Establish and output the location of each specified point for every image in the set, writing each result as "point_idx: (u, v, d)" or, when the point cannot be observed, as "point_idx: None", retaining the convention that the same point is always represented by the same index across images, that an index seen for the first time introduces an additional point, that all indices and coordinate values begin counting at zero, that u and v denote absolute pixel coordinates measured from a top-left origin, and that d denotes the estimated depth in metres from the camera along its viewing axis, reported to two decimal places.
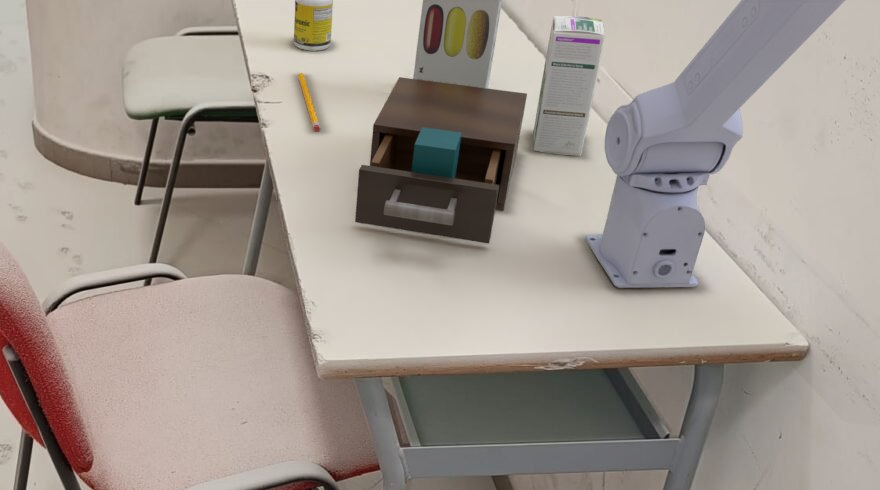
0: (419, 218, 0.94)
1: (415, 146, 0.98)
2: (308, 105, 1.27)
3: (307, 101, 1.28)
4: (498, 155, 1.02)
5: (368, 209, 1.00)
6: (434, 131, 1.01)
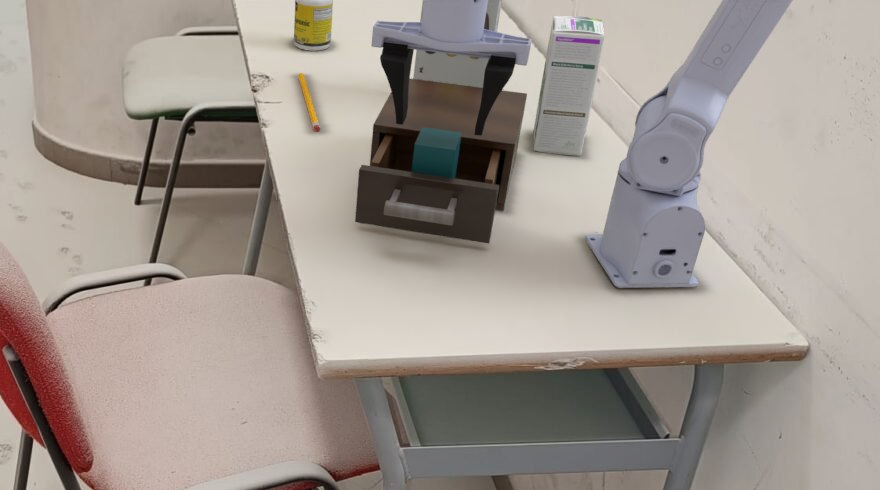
0: (419, 218, 0.94)
1: (415, 146, 0.98)
2: (308, 105, 1.27)
3: (306, 101, 1.28)
4: (498, 155, 1.02)
5: (368, 209, 1.00)
6: (434, 131, 1.01)
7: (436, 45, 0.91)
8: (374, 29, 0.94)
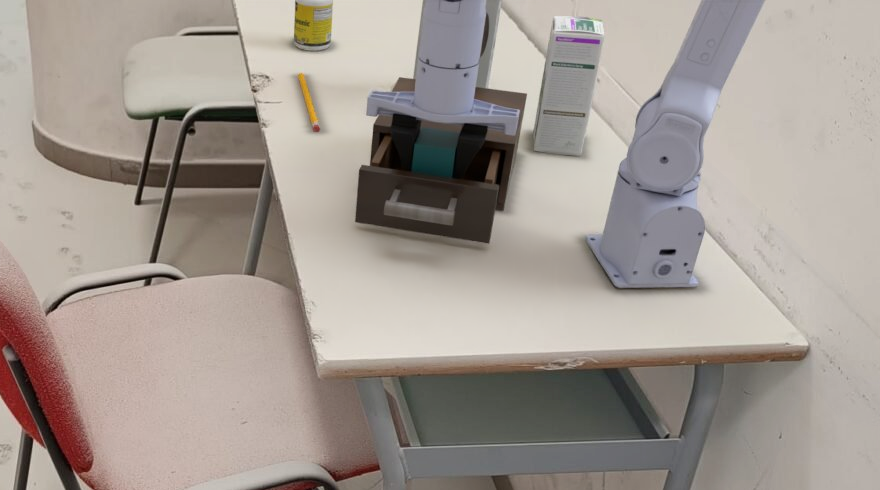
0: (419, 218, 0.94)
1: (415, 146, 0.98)
2: (308, 105, 1.27)
3: (306, 101, 1.28)
4: (498, 155, 1.02)
5: (368, 209, 1.00)
6: (433, 131, 1.01)
7: (428, 117, 0.95)
8: (368, 99, 0.98)
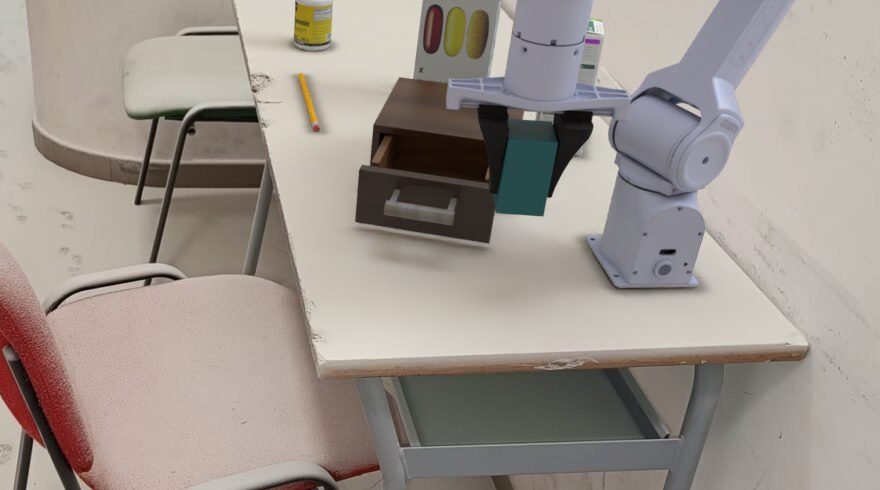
0: (419, 218, 0.94)
1: (509, 141, 0.82)
2: (308, 105, 1.27)
3: (306, 101, 1.28)
4: None
5: (368, 209, 1.00)
6: (521, 122, 0.85)
7: (529, 105, 0.80)
8: (451, 90, 0.82)
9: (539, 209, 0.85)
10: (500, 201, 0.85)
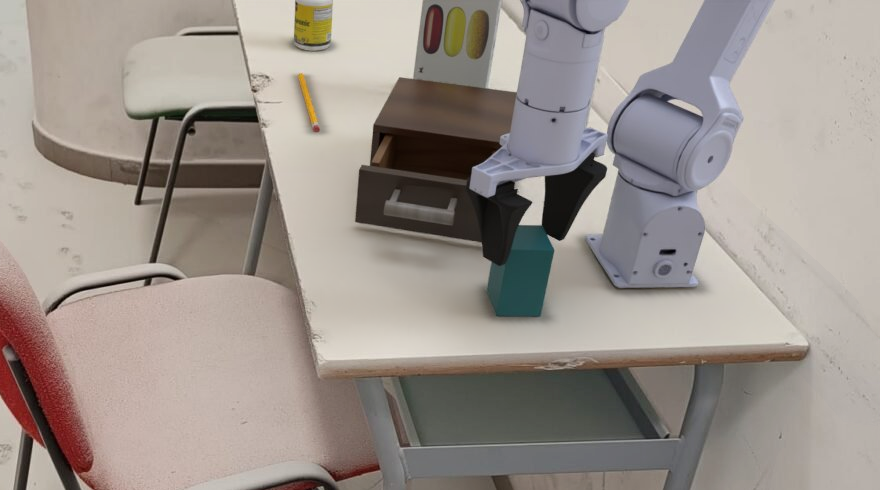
0: (419, 218, 0.94)
1: None
2: (308, 105, 1.27)
3: (306, 101, 1.28)
4: None
5: (368, 209, 1.00)
6: None
7: (561, 170, 0.81)
8: (491, 178, 0.79)
9: (537, 310, 0.89)
10: (500, 305, 0.89)
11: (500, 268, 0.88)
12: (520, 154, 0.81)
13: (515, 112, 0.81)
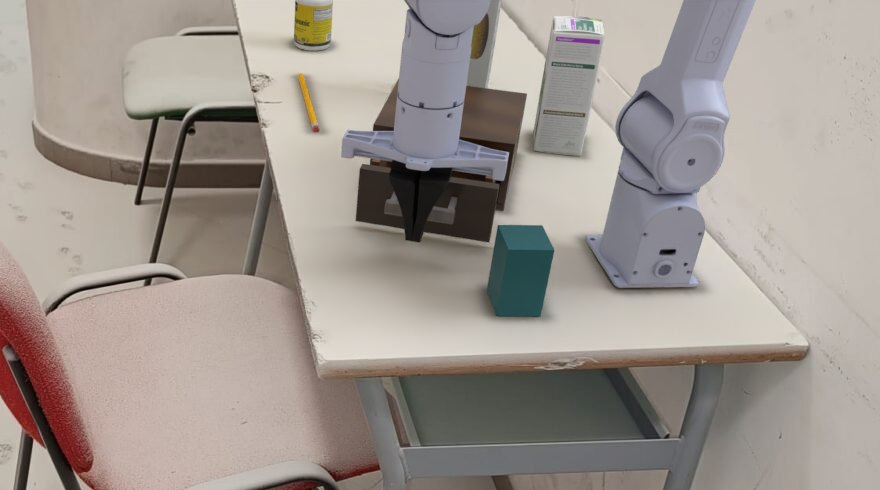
0: None
1: (509, 251, 0.86)
2: (307, 105, 1.27)
3: (306, 101, 1.28)
4: None
5: (368, 208, 1.00)
6: (514, 229, 0.89)
7: None
8: None
9: (537, 310, 0.89)
10: (500, 305, 0.89)
11: (500, 268, 0.88)
12: (457, 145, 0.88)
13: (454, 119, 0.85)
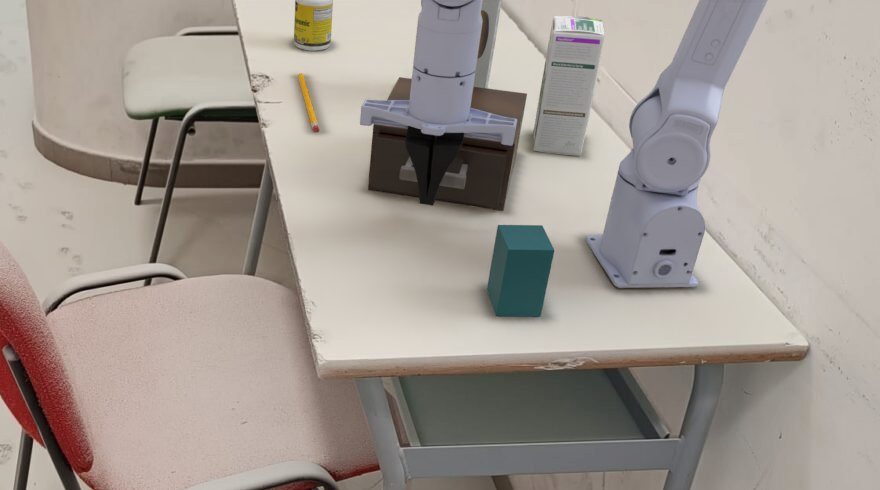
0: None
1: (509, 251, 0.86)
2: (307, 105, 1.27)
3: (306, 101, 1.28)
4: None
5: (384, 176, 1.06)
6: (514, 229, 0.89)
7: None
8: None
9: (537, 310, 0.89)
10: (500, 305, 0.89)
11: (500, 268, 0.88)
12: (469, 112, 0.94)
13: (466, 87, 0.91)
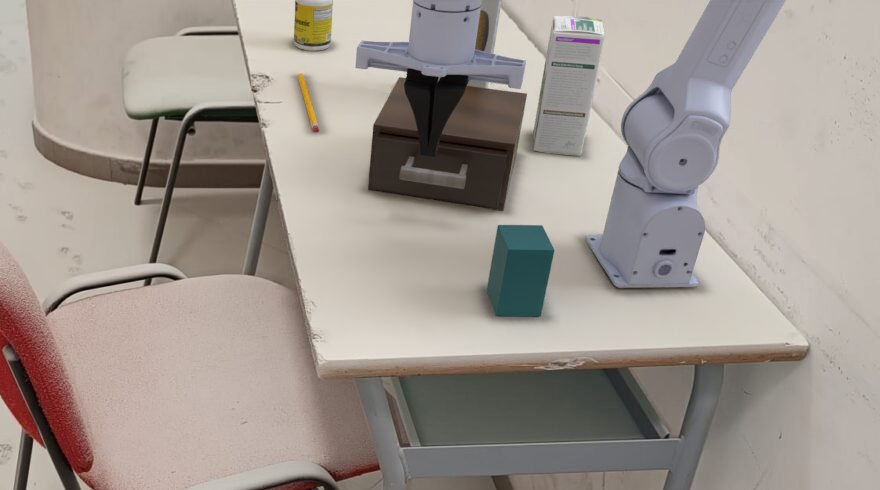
0: (433, 182, 1.00)
1: (509, 251, 0.86)
2: (307, 106, 1.27)
3: (306, 102, 1.28)
4: None
5: (384, 176, 1.06)
6: (514, 229, 0.89)
7: None
8: None
9: (537, 310, 0.89)
10: (500, 305, 0.89)
11: (500, 268, 0.88)
12: (474, 53, 0.87)
13: (471, 24, 0.84)
